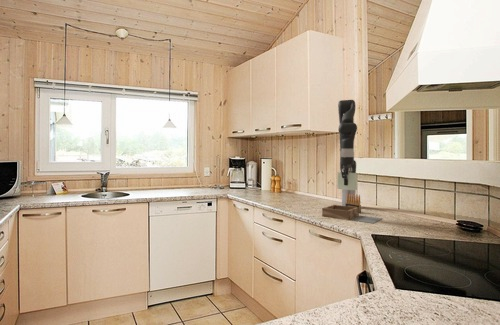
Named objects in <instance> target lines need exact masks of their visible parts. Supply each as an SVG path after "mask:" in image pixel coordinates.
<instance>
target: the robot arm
mask: <svg viewBox="0 0 500 325" xmlns="http://www.w3.org/2000/svg"><path fill="white" fill-rule="evenodd" d="M337 106H338V107H337V108H338V110H337V111H338V120H339V126H338V133H339V145H340V146H339V147H340V148H339V149H340V150H339V151H340V154H339V155H340V158H339V169H340V171H339V172H341V174H342V178H343V179H344V185H348V175H349V173H357V172H356V171H357V161H356V160H355V150H354V149H355V148H354V142H355V137H356V134H357V130H358V126H357V124H356V123H355V121H354V119H355V118H354V117H355V113H356V102H355V99H342V100H339V101H338V104H337ZM346 173H347V174H346ZM343 175H344V176H343ZM356 191H357V190H346V189H341V206H346V199H347V193H348V195H349V194H351V195H352V194H353V198H354V194H355V195H356Z"/></svg>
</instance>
